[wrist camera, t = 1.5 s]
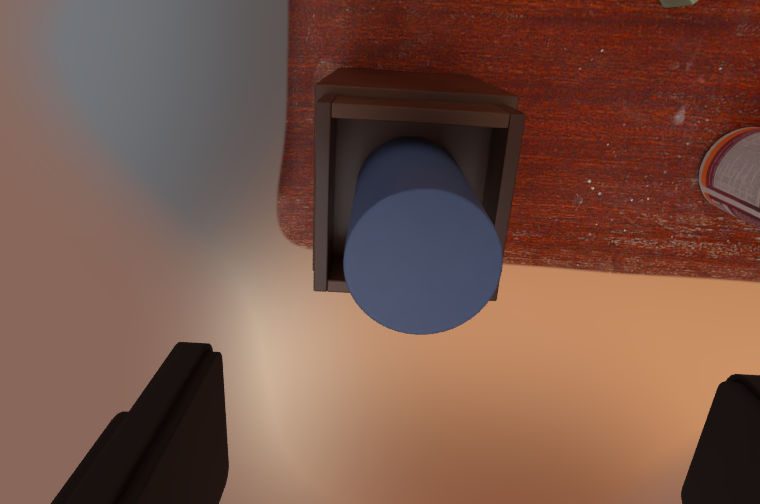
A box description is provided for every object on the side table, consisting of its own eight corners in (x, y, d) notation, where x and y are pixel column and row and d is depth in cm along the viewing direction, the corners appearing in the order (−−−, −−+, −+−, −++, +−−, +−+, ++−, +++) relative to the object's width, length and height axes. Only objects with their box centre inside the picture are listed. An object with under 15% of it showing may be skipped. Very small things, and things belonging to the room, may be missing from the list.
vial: (334, 185, 25) (309, 259, 16) (415, 112, 24) (434, 153, 15) (403, 259, 26) (413, 361, 18) (484, 194, 25) (535, 272, 17)
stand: (335, 194, 39) (304, 298, 24) (339, 67, 36) (305, 90, 20) (455, 201, 40) (504, 309, 24) (470, 75, 36) (537, 104, 20)
